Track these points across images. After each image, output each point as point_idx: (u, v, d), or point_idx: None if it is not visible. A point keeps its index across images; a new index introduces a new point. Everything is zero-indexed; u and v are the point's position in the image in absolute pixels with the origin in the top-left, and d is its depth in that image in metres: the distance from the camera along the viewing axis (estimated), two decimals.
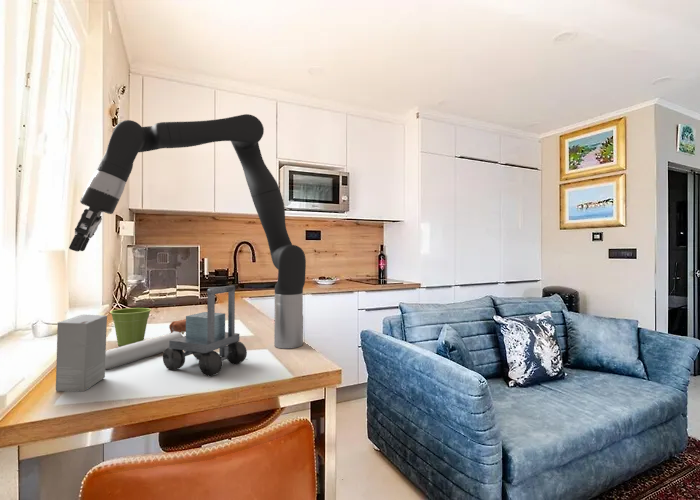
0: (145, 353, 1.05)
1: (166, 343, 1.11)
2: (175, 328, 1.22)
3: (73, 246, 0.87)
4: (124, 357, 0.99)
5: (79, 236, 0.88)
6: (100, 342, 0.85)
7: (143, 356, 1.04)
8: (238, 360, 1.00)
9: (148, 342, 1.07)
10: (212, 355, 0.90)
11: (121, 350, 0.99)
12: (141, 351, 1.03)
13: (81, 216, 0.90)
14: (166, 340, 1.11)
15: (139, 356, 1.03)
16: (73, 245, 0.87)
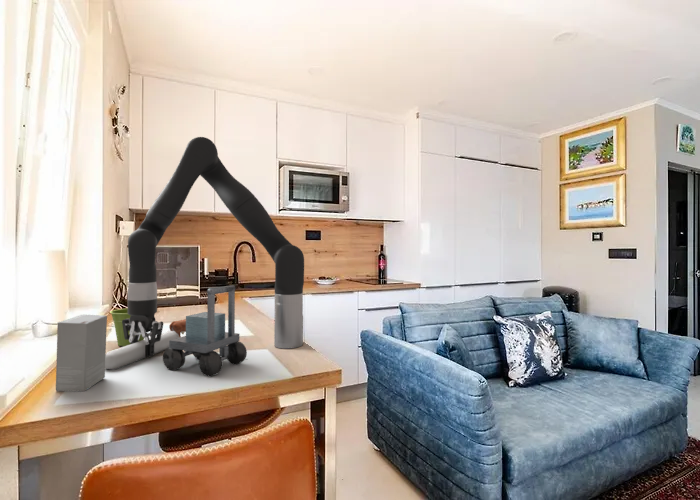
0: None
1: (165, 342, 1.12)
2: (175, 328, 1.22)
3: (151, 354, 1.05)
4: (129, 357, 0.99)
5: (152, 344, 1.05)
6: (100, 342, 0.85)
7: (144, 356, 1.05)
8: (238, 360, 1.00)
9: None
10: (212, 355, 0.90)
11: (125, 350, 0.99)
12: (143, 350, 1.04)
13: (141, 327, 1.04)
14: (164, 339, 1.12)
15: (141, 356, 1.03)
16: (150, 353, 1.04)
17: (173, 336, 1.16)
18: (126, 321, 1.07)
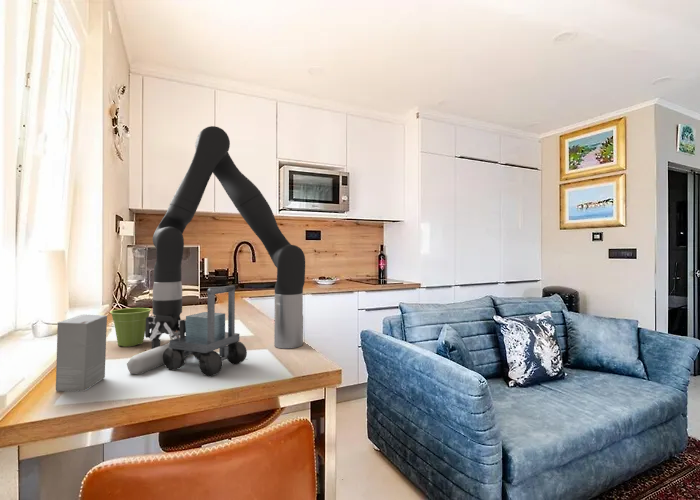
0: None
1: None
2: None
3: None
4: (154, 361, 0.96)
5: None
6: (100, 342, 0.85)
7: None
8: (238, 360, 1.00)
9: None
10: (212, 355, 0.90)
11: (151, 354, 0.96)
12: None
13: (168, 327, 1.00)
14: None
15: None
16: None
17: None
18: (150, 319, 1.04)
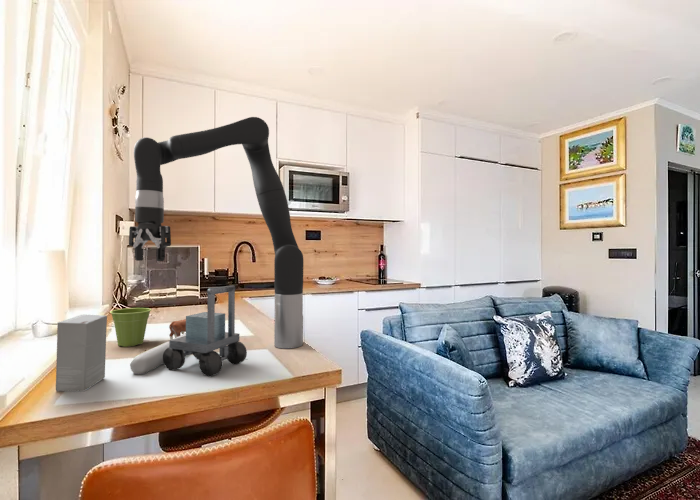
0: None
1: None
2: (175, 328, 1.22)
3: (161, 257, 1.07)
4: (156, 361, 0.96)
5: (162, 248, 1.07)
6: (100, 342, 0.85)
7: None
8: (238, 360, 1.00)
9: None
10: (212, 355, 0.90)
11: (153, 354, 0.96)
12: None
13: (149, 232, 1.07)
14: None
15: None
16: (161, 257, 1.07)
17: None
18: (133, 228, 1.10)
